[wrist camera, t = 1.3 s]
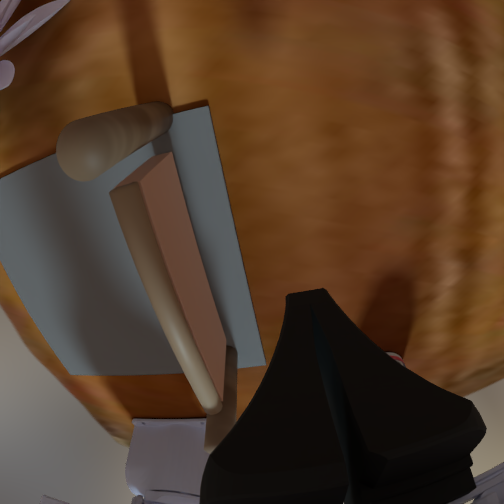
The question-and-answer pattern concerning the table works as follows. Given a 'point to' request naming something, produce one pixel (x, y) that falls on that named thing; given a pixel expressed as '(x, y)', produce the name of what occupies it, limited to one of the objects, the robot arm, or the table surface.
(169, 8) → the table surface
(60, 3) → the water lily
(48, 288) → the mat
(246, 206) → the table surface
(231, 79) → the table surface
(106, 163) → the brown wooden posts
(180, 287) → the brown rimmed panel
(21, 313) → the table surface
